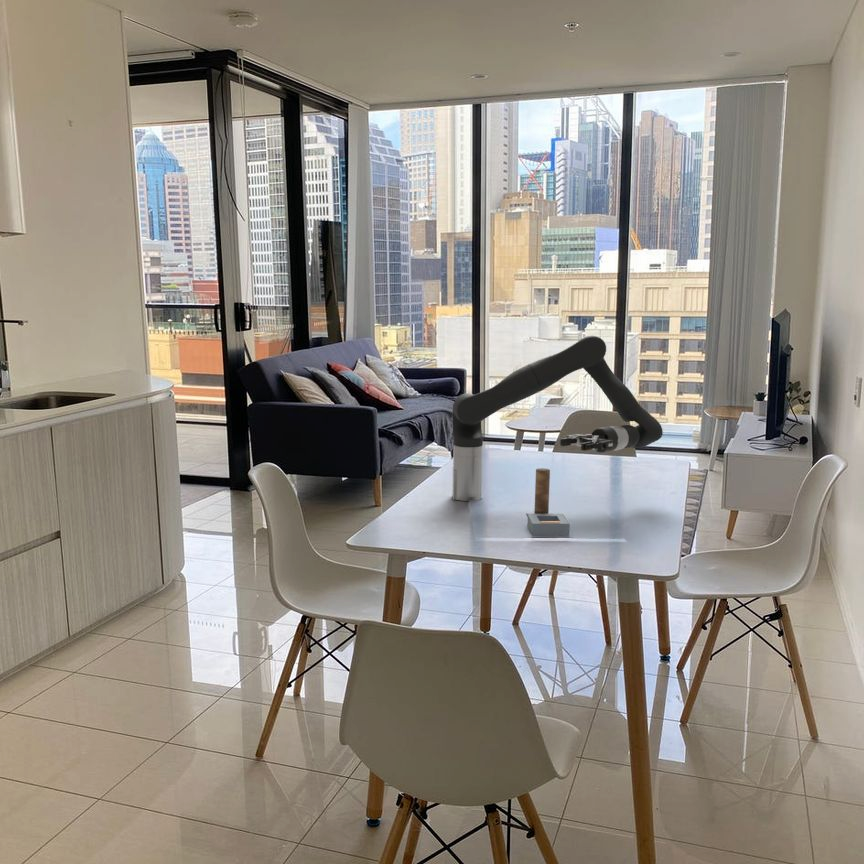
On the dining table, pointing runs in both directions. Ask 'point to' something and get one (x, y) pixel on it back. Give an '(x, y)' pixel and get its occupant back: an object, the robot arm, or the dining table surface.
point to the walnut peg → (542, 491)
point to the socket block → (548, 524)
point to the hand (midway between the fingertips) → (571, 444)
